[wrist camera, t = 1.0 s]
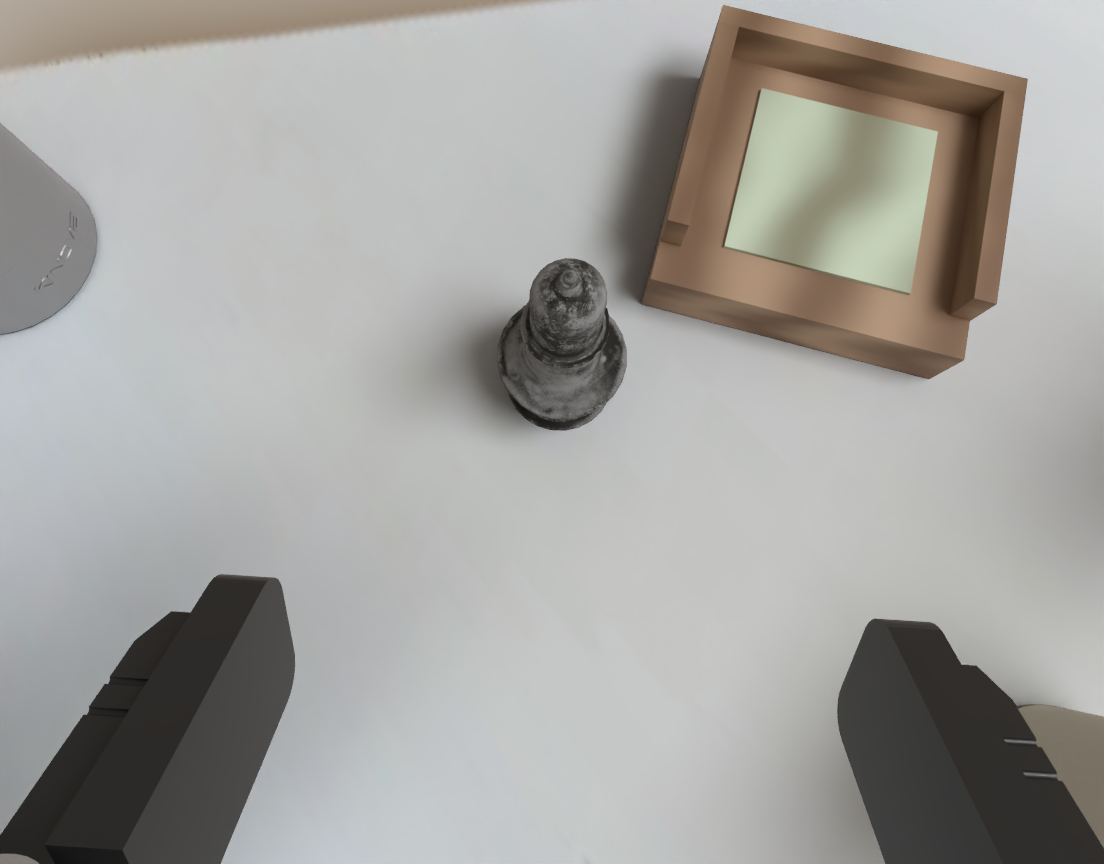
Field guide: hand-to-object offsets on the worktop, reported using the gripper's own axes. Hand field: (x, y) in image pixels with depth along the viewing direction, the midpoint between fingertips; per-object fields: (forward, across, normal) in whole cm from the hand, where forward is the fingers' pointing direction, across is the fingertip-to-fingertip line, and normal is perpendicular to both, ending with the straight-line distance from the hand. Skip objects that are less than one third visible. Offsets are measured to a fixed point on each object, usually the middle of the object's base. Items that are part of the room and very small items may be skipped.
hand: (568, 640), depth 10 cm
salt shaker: (+25, 0, +9) cm, 27 cm away
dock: (+32, -12, +2) cm, 34 cm away
